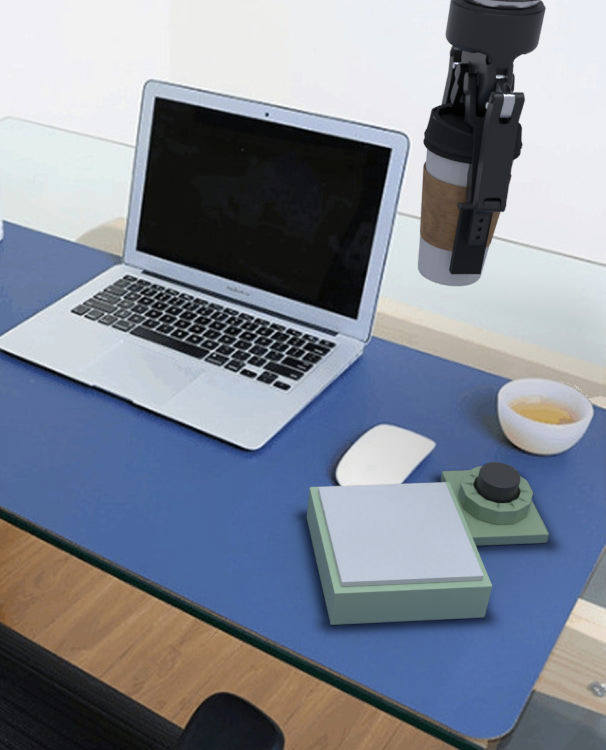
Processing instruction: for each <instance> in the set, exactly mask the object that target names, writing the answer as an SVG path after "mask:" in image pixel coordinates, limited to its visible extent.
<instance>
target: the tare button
mask: <svg viewBox="0 0 606 750" xmlns="http://www.w3.org/2000/svg"><path fill="white" fill-rule="evenodd" d="M481 466H482V467H481V468H480V471H479V475H478V480H477V484H476V489H477V491H478V493H479V494H480V495H481V496H482V497H483V498H485V499H486V500H489V501H492V502H495V503H508V502H510V501H512V500H514V499H515V497H516V496H517V492H518V488H519V484H520V480H521V478H520V476H521V475H520V473H519V471H518V469H517V468H515V467H514V466H512V465H510V464H508V463H504V462H501V461H490V462H487V463H484V464H483V465H481Z"/></svg>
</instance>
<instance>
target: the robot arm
mask: <svg viewBox="0 0 606 750" xmlns="http://www.w3.org/2000/svg"><path fill="white" fill-rule="evenodd" d="M544 3H545V2H544V1H542V0H450V1H449V9H448V14H447V21H446V22H447V23H446V28H445V33H444V34H445V35H444V36H445V39H446V42H448V43H449V44H450V45H451V47H450V50H449V59H448V61H449V62H448V68H447V69H448V70H447V76H446V81H445V86H444V90H443V96H442V99H441V104H440V105H442V104H448V103H452V106H453V108H454V115H455V116H462V117H465V124H466V126H468V127H469V128H470V133H471V134H473V136H474V139H473V147H472V160H471V164H469V169H468V174H467V191H466V202H457V207H458V209H459V210H460V212H459V217H458V223H457V228H456V234H455V239H454V245H453V251H452V256H451V262H450V267H449V271H450V273H451V274H481V270H482V265H483V260H484V255H485V250H486V245H487V240H488V235H489V230H490V225H491V220H492V215H493V212H500V213H504V212H505V211H506V208H507V201H508V196H509V189H510V184H509V183H511V180H510V176H511V175H512V170H513V169H512V168H513V165H512V163H513V164H514V162H513V156H514V149H515V142H516V136H517V129H518V123H520V119H521V116H522V112H523V109H524V105H525V103H526V97H525V92H523V91H519V92H518V91H515V80H516V76H515V73H514V67H515V65H514V62H515V60H516V59H517V58H519V57H521V56H522V55H527V54H530V53H533V52H534V51H535V50H536V49H537V48H538V46H539V42H540V38H541V33H542V28H543V23H544V19H545V14H546V9H547V8H546V5H545V4H544ZM482 115H485V117H481V116H482ZM477 137H482V141H480V140H479V139H478V138H477ZM482 271H483V270H482ZM481 275H482V274H481Z"/></svg>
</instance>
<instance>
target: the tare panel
mask: <svg viewBox="0 0 606 750" xmlns="http://www.w3.org/2000/svg"><path fill="white" fill-rule="evenodd" d="M482 466H483V465H480V466H479V465H477V466H476V467H474V468H471V469H467V470H465V469H462V470H442V471H441V474H440V475H441V476H440V482H450V485H451V487H452V489H453V492H454V494H455V497H456V499H457V502H458V504H459V506H460V509H461V511H462V514H463V516H464V518H465V521H466V523H467V526H468V528H469V531H470V533H471V535H472V538H473V540H474V543H475V545H476V547H477V546H478V547H479V546H505V545H525V544H526V545H528V544H546V543H548V539H549V536H550V533H549V531H548V529H547V527H546V525H545V523H544V521H543V519H542V517H541V515H540V513H539V511H538V510H537V509H538V508H537V507H536V505H535V503H534V501H533V496H534V491H533V489H532V487H531V485H530V484H529V482H528V480H527V479H525V478H524V477H522V476H521V475H520V478H521V480H520V484H519V488H518V492H517V496H516V497H515V499H514V500H512V501H510V502H508V503H495V502H492V501H489V500H486V499H485V498H483V497H482V496H481V495H480V494H479V493H478V491H477V489H476V484H477V480H478V475H479V471H480V468H481V467H482Z"/></svg>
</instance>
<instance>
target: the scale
mask: <svg viewBox="0 0 606 750" xmlns="http://www.w3.org/2000/svg"><path fill="white" fill-rule="evenodd" d="M308 489H309V490H308V501H307V509H306V520H307V525H308V529H309V535H310V538H311V543H312V548H313V552H314V557H315V562H316V565H317V569H318V570H317V571H318V574H319V575H318V576H319V579H320V584H321V588H322V592H323V596H324V601H325V606H326V610H327V615H328V619H329V624H330V626H339V625H361V624H377V623H379V624H381V623H398V622H419V621H421V622H422V621H437V620H439V621H440V620H461V619H462V620H463V619H479V618H485V617H486V613H487V610H488V606H489V601H490V598H491V595H492V591H493V584H492V582H491V579H490V577H489V574H488V572H487V569H486V567H485V565H484V562H483V560H482V558H481V555H480V553H479V550H478V548H477V546H476V545H475V543H474V540H473V538H472V535H471V533H470V531H469V528H468V526H467V523H466V521H465V518H464V516H463V514H462V511H461V509H460V506H459V504H458V502H457V499H456V497H455V494H454V492H453V489H452V487H451V485H450V482H441V481H439V482H413V483H386V484H385V483H384V484H359V485H358V484H356V485H329V486H309V488H308Z"/></svg>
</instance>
